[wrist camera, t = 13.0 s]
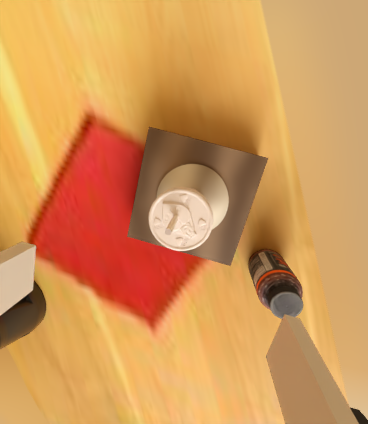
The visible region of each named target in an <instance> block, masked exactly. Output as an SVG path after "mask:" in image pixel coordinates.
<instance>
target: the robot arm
mask: <svg viewBox="0 0 368 424" xmlns="http://www.w3.org/2000/svg"><path fill="white" fill-rule="evenodd" d="M35 252H36V245H32V244H29V243H25V242H20V243H18V244H16V245H14V246H12V247H10V248H8V249H5V250H3V251H1V252H0V349H2V348H3V347H5V346H7V345H9V344H11V343H12V342H14V341H16V340H18V339H19V338H21V337H23V336H25V335H27V334H29V333H30V332H32V331H33V330H34V329H35V328H36V327H37V326H38V325H39V324H40V323H41V321H42V320H43V318H44V316H45V312H46V304H45V299H44V296H43V294H42V292H41V290H40V289H39V287H38V286H37V285H36V283H35V282H34V267H35ZM266 358H267V362H268V365H269V369H270V372H271V376H272V379H273V383H274V386H275V389H276V393H277V396H278V400H279V403H280V407H281V410H282V414H283V417H284V420H285V424H368V420H367V419H366V417H365V416H364V415H363V414H362V413H361V412H360V411H359V410H357V409H353V408H350V407H349V405H348V403H347V402H346V400H345V398H344V396H343V395H342V393H341V391H340V389H339V387H338V386H337V384H336V382H335V380H334V379H333V377H332V375H331V373H330V371H329V370H328V368H327V366H326V364H325V363H324V361H323V359H322V357H321V355H320V354H319V352H318V350H317V348H316V347H315V345H314V343H313V341H312V340H311V338H310V336H309V334H308V332H307V331H306V329H305V327H304V325H303V324H302V322H301V320H300V318H296V317H293V316H289V315H285V314H284V317H283V319H282V321H281V323H280V326H279V328H278V330H277V332H276V335H275V337H274V339H273V341H272V344H271V346H270V348H269V351H268V353H267V355H266Z"/></svg>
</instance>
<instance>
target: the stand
mask: <svg viewBox="0 0 368 424" xmlns="http://www.w3.org/2000/svg"><path fill="white" fill-rule="evenodd" d="M267 160H268V158H266V157H262V156H258V155H254V154H251V153H247V152H243V151H239V150H235V149H232V148H228V147H224V146H220V145H216V144H213V143H209V142H205V141H201V140H197V139H194V138H190V137H186V136H182V135H179V134H175V133H171V132H167V131H163V130H160V129H156V128H152V127H149V130H148V135H147V140H146V145H145V150H144V155H143V160H142V165H141V170H140V175H139V180H138V185H137V190H136V195H135V200H134V205H133V210H132V216H131V221H130V226H129V231H128V236H127V237H131V238H134V239H138V240H141V241H145V242H148V243H152V244H155V245H159V246H163V247H165V246H164V245H162V244H161V243H160V242H159V241H158V240H157V239H156V238H155V237H154V235H153V234H152V232H151V229H150V226H149V211H150V208H151V206H152V204H153V202H154V201H155V200H156V198H157V197H158V196H159V195H160V194H161V193H163V192H164V191H166V190H168V189H171V188H174V187H187V188H194V189H196V190H197V191H198V192H199V193H201V194H202V195H203V196H204V197H205V198H206V199H207V201H208V202H209V203H210V205H211V208H212V211H213V219H214V221H213V226H212V230H211V233H210V235H209V237H208V238H207V239H206V241H205V242H204V243H202V244H201V245H200V246H198V247H196V248H194V249H191V250H187V251H180V252H184V253H187V254H191V255H194V256H198V257H201V258H205V259H208V260H212V261H215V262H219V263H222V264H226V265H229V266H230V265H231V263H232V260H233V257H234V254H235V251H236V248H237V246H238V243H239V240H240V237H241V234H242V231H243V228H244V226H245V223H246V220H247V217H248V214H249V211H250V209H251V206H252V203H253V200H254V197H255V194H256V191H257V189H258V186H259V183H260V180H261V177H262V174H263V172H264V169H265V166H266V163H267ZM166 248H167V247H166Z"/></svg>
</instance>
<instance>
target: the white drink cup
mask: <svg viewBox="0 0 368 424" xmlns="http://www.w3.org/2000/svg"><path fill="white" fill-rule="evenodd" d="M213 221H214V219H213V211H212V208H211V205H210V203H209V202H208V201H207V199H206V198H205V197H204V196H203V195H202V194H201V193H199V192H198V191H197V190H196V189H194V188H187V187H174V188H171V189H168V190H166V191H164V192H163V193H161V194H160V195H159V196H158V197H157V198H156V200H155V201H154V202H153V204H152V206H151V208H150V211H149V226H150V229H151V232H152V234H153V235H154V237H155V238H156V239H157V240H158V241H159V242H160V243H161V244H162V245H164V246H165V247H167V248H170V249H172V250H177V251H187V250H191V249H194V248H196V247H198V246H200V245H201V244H202V243H204V242H205V241H206V239H207V238H208V237H209V235H210V233H211V230H212V226H213Z"/></svg>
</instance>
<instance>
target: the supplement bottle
mask: <svg viewBox="0 0 368 424" xmlns="http://www.w3.org/2000/svg"><path fill="white" fill-rule="evenodd" d="M249 271H250V274H251V277H252V280H253V283H254V286H255V289H256V292H257V295H258V297H259V299H260V301H261V303H262V304H263V305H264V306H265V307H266V308H268V309H270V310H271V311H272V313H273V314H274V315H275V316H277V317H279V318H282V319H283V317H284V314H285V315H289V316H293V317H296V316H297V315H299V314H300V312H301V311H302V309H303V301H302V293H303V291H302V286H301V284H300V282H299V281H298V279H297V278H296V276H295V275H294V274H293V272H292V271H291V269H290V268H289V267H288V265H287V264H286V262H285V261H284V259H283V258H282V257H281V256H280V255H279V254H278V253H277V252H275V251H272V250H267V249H266V250H261V251H258V252H256V253H255V254H254V255H253V256H252V257H251V258H250V260H249Z"/></svg>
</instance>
